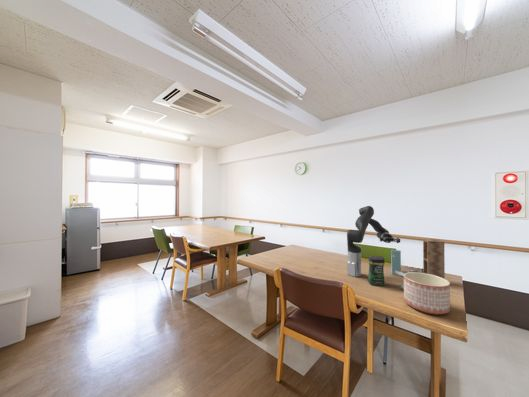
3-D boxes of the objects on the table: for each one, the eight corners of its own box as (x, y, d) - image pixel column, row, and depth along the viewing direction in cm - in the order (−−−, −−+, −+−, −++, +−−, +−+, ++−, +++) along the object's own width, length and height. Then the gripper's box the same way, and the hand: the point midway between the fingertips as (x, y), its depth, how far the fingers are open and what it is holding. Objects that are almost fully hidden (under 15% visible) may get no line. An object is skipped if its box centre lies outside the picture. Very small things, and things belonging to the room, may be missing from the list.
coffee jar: (370, 285, 137) (370, 257, 137) (366, 281, 145) (366, 254, 145) (386, 286, 136) (386, 257, 135) (381, 281, 143) (381, 254, 143)
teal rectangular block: (392, 275, 155) (392, 250, 155) (391, 273, 158) (391, 249, 158) (401, 276, 153) (401, 251, 153) (399, 274, 157) (399, 250, 157)
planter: (446, 321, 97) (446, 289, 97) (399, 306, 111) (398, 278, 111) (452, 307, 110) (452, 279, 110) (409, 294, 124) (409, 269, 124)
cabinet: (409, 281, 143) (409, 240, 143) (401, 272, 161) (401, 235, 160) (447, 285, 136) (447, 242, 136) (434, 275, 154) (434, 237, 154)
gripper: (377, 232, 184) (381, 236, 169) (396, 233, 180) (402, 237, 165) (377, 241, 185) (381, 245, 169) (396, 242, 180) (402, 246, 165)
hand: (391, 241), depth 167 cm, fingers open, 8 cm apart
